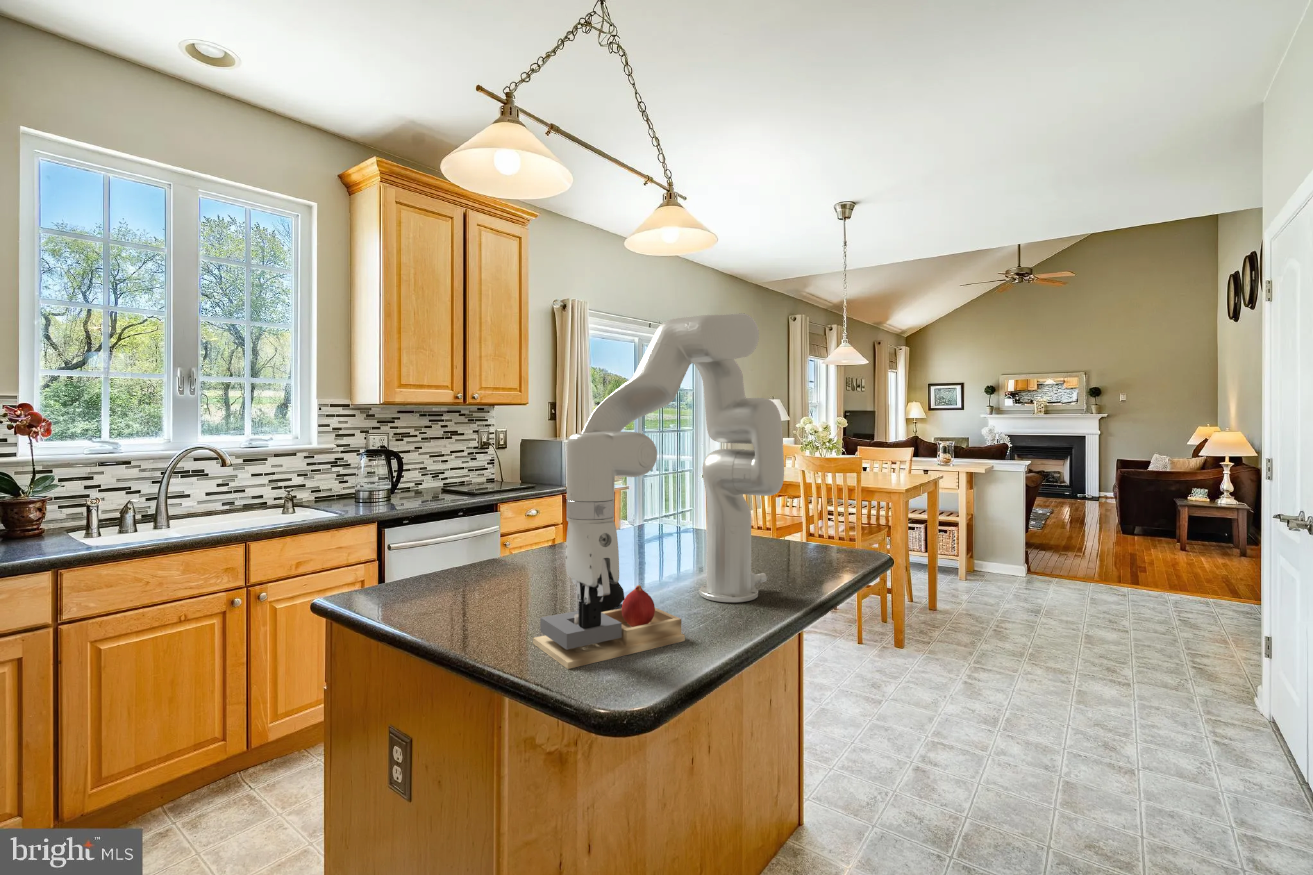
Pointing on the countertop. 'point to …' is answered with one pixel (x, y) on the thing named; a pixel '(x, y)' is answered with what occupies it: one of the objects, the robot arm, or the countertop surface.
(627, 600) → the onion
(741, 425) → the robot arm
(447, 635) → the countertop surface
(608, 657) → the wooden tray
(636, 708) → the countertop surface
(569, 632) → the gray holed slab
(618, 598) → the toy
